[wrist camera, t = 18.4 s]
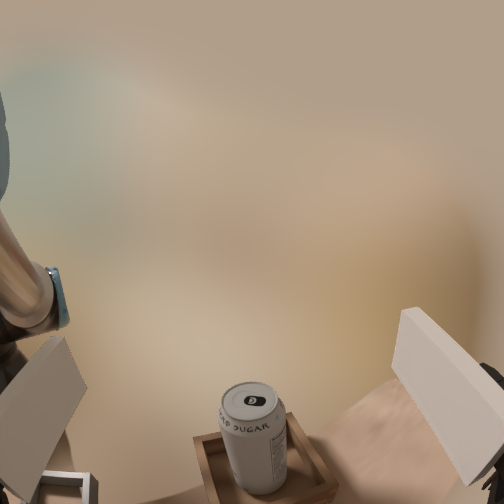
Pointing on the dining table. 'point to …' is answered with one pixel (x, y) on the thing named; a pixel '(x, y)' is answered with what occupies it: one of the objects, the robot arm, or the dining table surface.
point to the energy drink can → (254, 436)
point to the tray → (69, 484)
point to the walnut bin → (297, 481)
